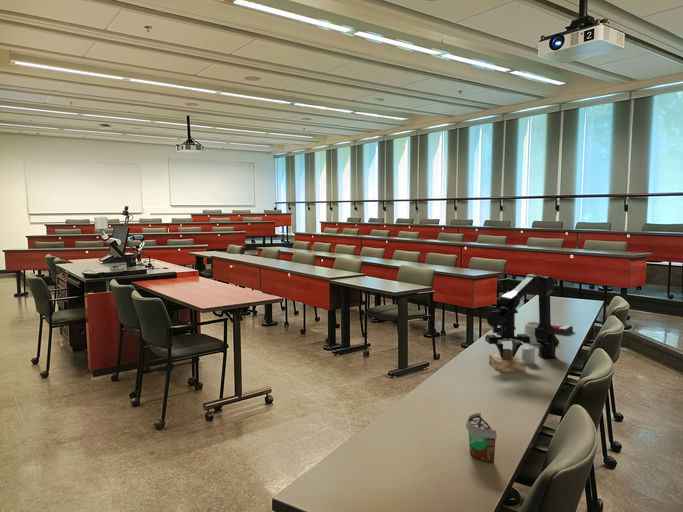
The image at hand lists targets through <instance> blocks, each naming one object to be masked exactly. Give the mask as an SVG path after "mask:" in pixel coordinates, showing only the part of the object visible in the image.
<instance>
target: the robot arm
mask: <svg viewBox="0 0 683 512" xmlns="http://www.w3.org/2000/svg"><path fill="white" fill-rule="evenodd" d="M533 287H534V289H535V291H536V292H537V294H538V319H539V320H538V322H539V325H538V327H536V328H535V336H536V340H537V343H540V344H539V346H538V354H537V355H538V356H539V357H541V358H542V359H546V360H547V359H558V356H556V347H558V346H559V344H560V340H559V338H557V336H556V334H555V331H554V329H553V327H552V325H551V323H552V322H551V316H552V315H551V294H552V292H553V291H554V289H555V279H554V278H553V277H552V276H549V275H548V276H547V275H537V274H532V273H531V274H527V275H526V276H525V278H524V279H523V280H522V281H521V282H519V283H518V285H517V286H516V287H515V288H514V289H512V290H511V291H507V292H505V293H503V295H501V296H500V297H499V299H498V301H497V303H496V304H495V307H494V310H490V313H489V314H488V316H487V317H486V321H487V324H488V325H489V326H490V327H491V328H492V333H493V334H486V335H485V337H484V341H485V342H486V343H488V344H490V345H495V346H496V347H497V351H498V355H499V354H500V356H501V358H502V357H503V349H504V344H503V343H502V342H510V341H511V345H512V347H511V348H512V349H511V350H512V351H513V358H514V356H515V355H517V352H518V350H519V348H520V347H521V346H523V345H524V344H531V343H530V337H529V336H527V335H526V334H524V333H518V334H516V335H515V330H516V326H515V325H516V324H515V323H516V322H515V318H516V317H515V315H516V314H518V313H519V311H518V310H517V308H518V306H519V305H520V303H521V299H522V298H523V297H524V296H525V295H526V294H527V293H528V292H529V291H530V290H532V288H533ZM498 326H499V327H498ZM495 334H496V335H495Z"/></svg>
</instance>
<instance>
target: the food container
mask: <svg viewBox="0 0 683 512" xmlns="http://www.w3.org/2000/svg"><path fill="white" fill-rule="evenodd" d="M481 415H482V413H480V412H477V413H473V414H471V415H469V416H468V418H467V420H466V423H465V428H466V430H468V443H469V444H468V445H469V454H470V456H471V457H472V458H473V459H474V460H477V461H479V462H483V463H486V464H487V463H488V464H489V463H490V464H492V463H493V464H494V463H495V454H496V441H497V435H498V434H497V430H496V429H492V427H491V426H490V425H489V423H488V422H487V421H485V419H483V417H481Z"/></svg>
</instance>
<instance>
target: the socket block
mask: <svg viewBox="0 0 683 512" xmlns="http://www.w3.org/2000/svg"><path fill="white" fill-rule="evenodd" d="M488 361H489V363H488V364H489V365H491V367H493V368H494V370H495V371H497V372H499V373H508V372H509V373H510V372H511V373H515V372H527V371H526V369H527V365H526V362H525V361H523V360H522V357H519V356H518V355H517V354H515V356H514V358H513V360H503V359H502V358H501V356H500V354H499V353H498V354H489V355H488Z"/></svg>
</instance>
